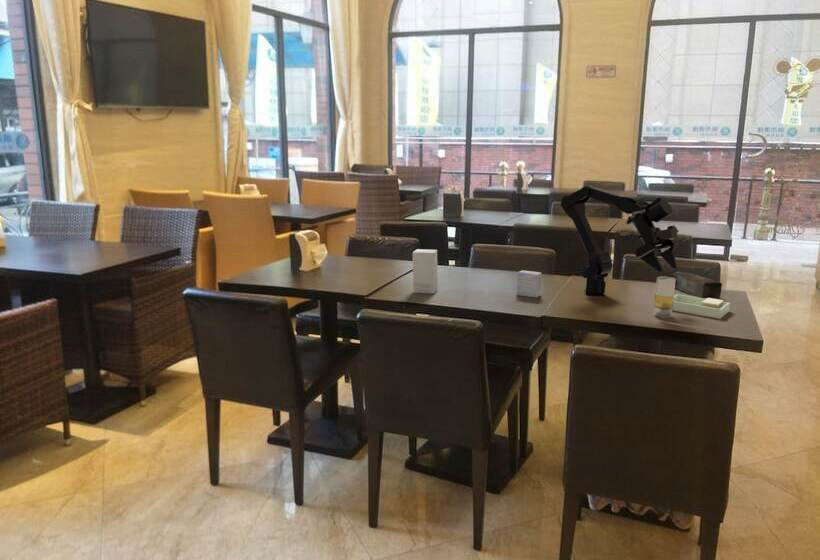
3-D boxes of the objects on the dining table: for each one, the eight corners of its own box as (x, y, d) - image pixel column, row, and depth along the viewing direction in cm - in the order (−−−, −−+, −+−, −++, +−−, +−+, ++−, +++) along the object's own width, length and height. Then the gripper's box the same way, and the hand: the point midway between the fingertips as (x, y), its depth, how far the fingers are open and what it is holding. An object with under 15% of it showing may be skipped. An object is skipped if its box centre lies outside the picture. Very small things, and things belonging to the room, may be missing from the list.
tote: (665, 310, 218) (666, 300, 217) (676, 303, 226) (677, 294, 225) (720, 320, 207) (721, 309, 207) (728, 312, 216) (730, 302, 215)
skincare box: (437, 290, 241) (438, 249, 237) (433, 294, 235) (434, 252, 231) (416, 288, 243) (416, 248, 239) (411, 292, 237) (412, 251, 233)
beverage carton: (687, 286, 252) (689, 270, 251) (721, 299, 234) (723, 281, 233) (669, 287, 250) (671, 271, 249) (702, 300, 232) (704, 282, 231)
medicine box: (540, 295, 235) (542, 272, 233) (536, 298, 232) (538, 274, 230) (520, 292, 239) (521, 269, 237) (516, 295, 235) (517, 272, 233)
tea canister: (654, 319, 208) (658, 279, 205) (651, 314, 213) (655, 275, 210) (673, 320, 207) (677, 280, 204) (669, 315, 212) (673, 276, 209)
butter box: (700, 313, 213) (701, 301, 212) (706, 308, 218) (707, 297, 217) (716, 316, 210) (718, 304, 209) (722, 311, 215) (723, 300, 214)
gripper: (650, 219, 207) (674, 262, 203) (679, 215, 219) (702, 255, 215) (624, 236, 216) (646, 277, 212) (653, 231, 227) (674, 270, 223)
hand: (668, 269), depth 215 cm, fingers open, 9 cm apart
